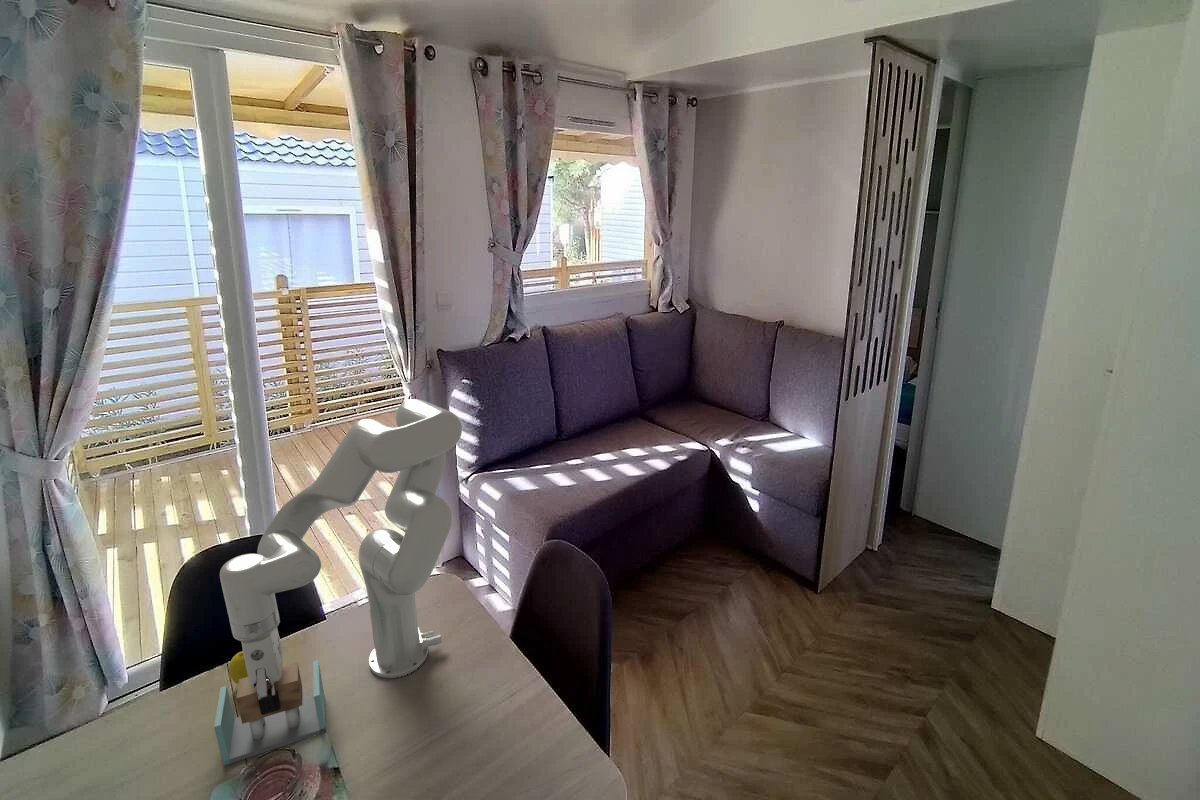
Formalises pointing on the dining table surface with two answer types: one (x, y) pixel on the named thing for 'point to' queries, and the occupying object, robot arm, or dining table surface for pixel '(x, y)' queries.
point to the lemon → (238, 667)
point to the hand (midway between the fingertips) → (271, 698)
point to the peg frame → (269, 725)
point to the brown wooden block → (286, 688)
